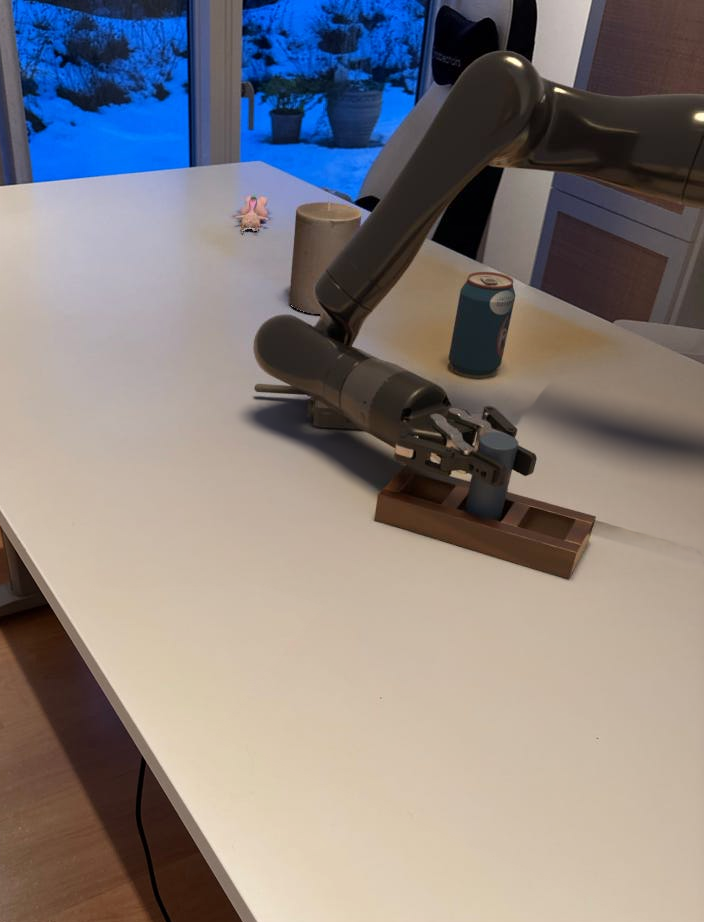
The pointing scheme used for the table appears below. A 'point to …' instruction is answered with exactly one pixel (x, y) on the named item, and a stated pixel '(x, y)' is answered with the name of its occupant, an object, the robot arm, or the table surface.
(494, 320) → the soda can
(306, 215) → the pillar candle
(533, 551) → the peg block
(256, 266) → the table surface
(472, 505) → the peg
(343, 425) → the walkie-talkie
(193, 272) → the table surface
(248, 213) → the rabbit figure
